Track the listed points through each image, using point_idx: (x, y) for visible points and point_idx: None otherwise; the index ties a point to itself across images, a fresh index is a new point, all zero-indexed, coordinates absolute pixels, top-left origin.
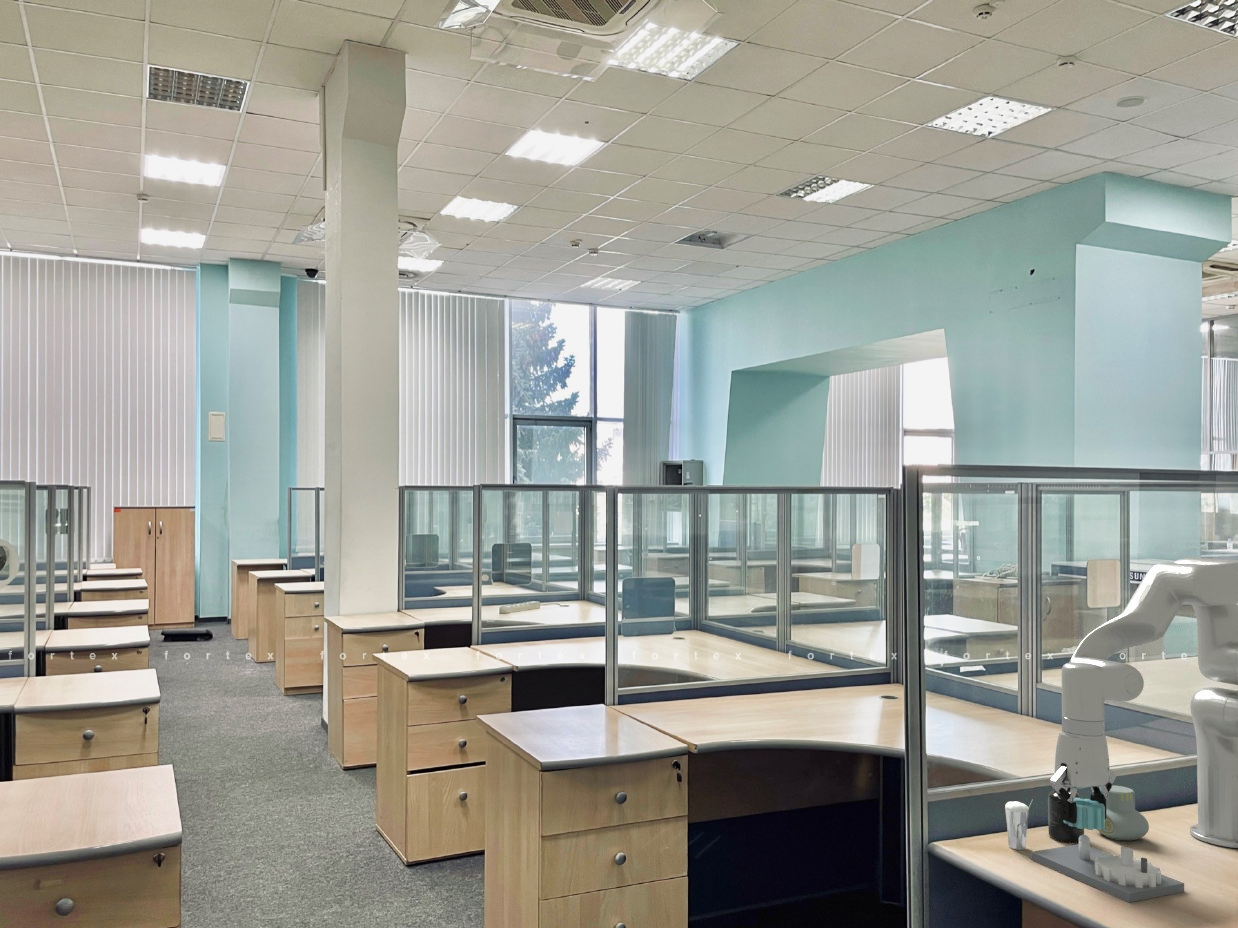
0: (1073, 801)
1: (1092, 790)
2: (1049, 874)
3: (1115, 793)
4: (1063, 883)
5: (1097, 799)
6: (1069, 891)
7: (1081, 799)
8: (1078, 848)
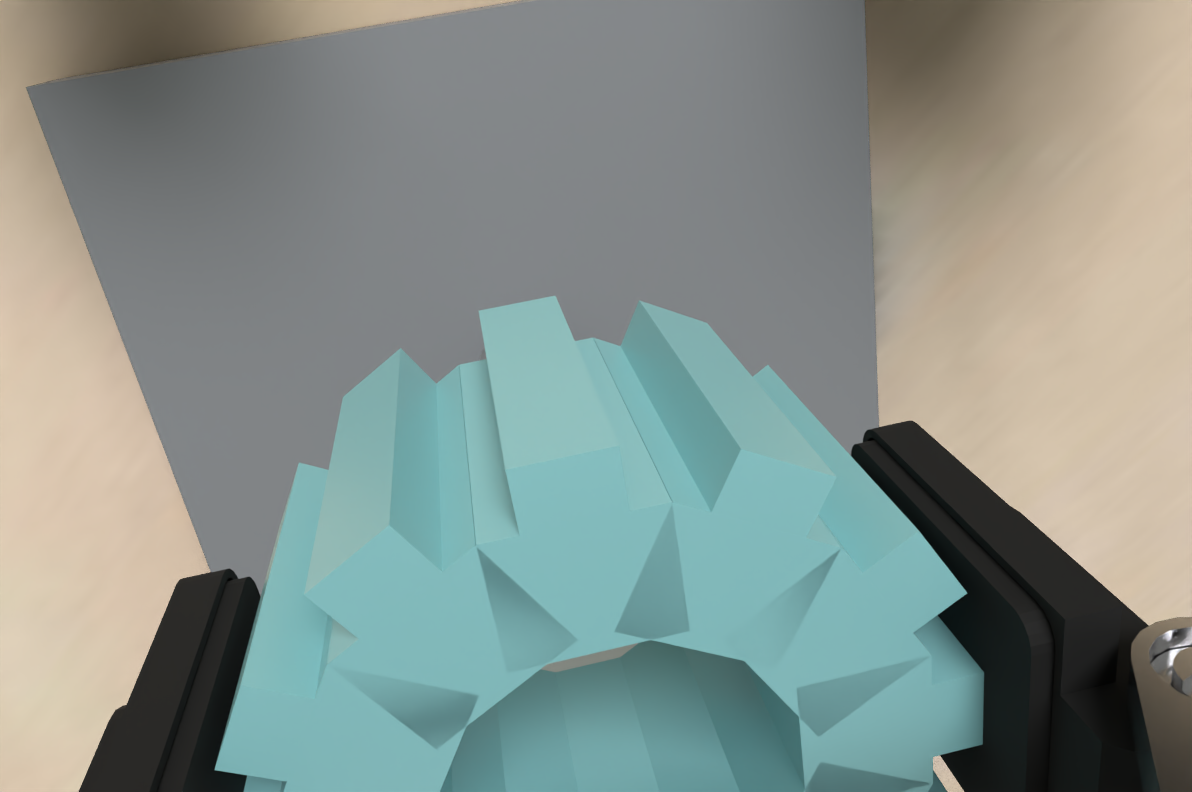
0: (483, 695)
1: (1139, 728)
2: (50, 472)
3: None
4: (74, 650)
5: (1007, 740)
6: (36, 778)
7: (773, 587)
8: (683, 89)
